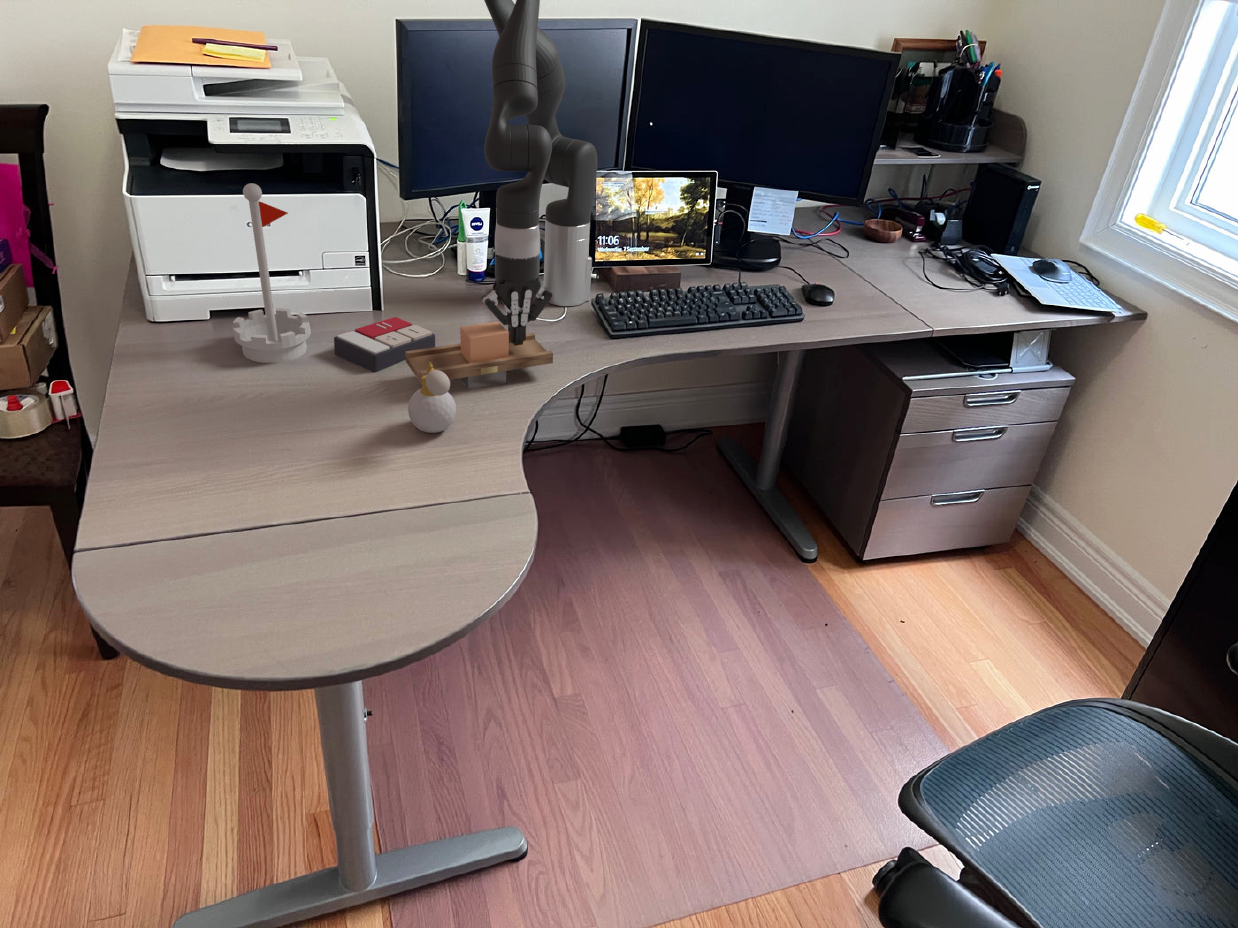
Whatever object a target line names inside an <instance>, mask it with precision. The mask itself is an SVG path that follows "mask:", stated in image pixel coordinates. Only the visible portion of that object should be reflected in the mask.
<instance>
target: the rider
mask: <svg viewBox="0 0 1238 928" xmlns="http://www.w3.org/2000/svg"><path fill="white" fill-rule="evenodd" d="M459 330H460V331H459V332H460V333H459V334H460V344H461V354H462V355H463V356H464V357H465V359H466V360H467V361H468V362H469V363H474V362H481V361H487V360H494V359H500V358H507V357H509V332H508V329H506V328H505V327H504V325H503V324H502V323H501V322H500V321H492V322H487V323H486V322H485V323H479V324H470V325H464V326H460V329H459Z"/></svg>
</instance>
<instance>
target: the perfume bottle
mask: <svg viewBox="0 0 1238 928" xmlns="http://www.w3.org/2000/svg"><path fill="white" fill-rule="evenodd" d="M432 367H433V365H432V364H431V362H429V364H428V368H427V375H425V376H423V377H422V384H421V388H419V389H418V390H416V391H415V392H414V393H413V394H412V395H411V398H410V399H409V401H408V405H407V406H408V407H407V412H408V417H409V420H410V421H411V423H412V424H413V425H414V427H416V428H417V429H418V430H419V431H422V432H424V433H427V434H434V433H440V432H443V431H445V430H447V429H448V428H450V426H451V425H452V424H453V422H454V420H455V418H456V413H457V406H456V402H455V400H454V397H453V396H452V394H451V393H450V392H449V391H450V388H451V380H449V378H448V377H447V375H446V374H445V373H443V372H441V371H439V370H434V368H432Z"/></svg>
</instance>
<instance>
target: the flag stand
mask: <svg viewBox="0 0 1238 928" xmlns="http://www.w3.org/2000/svg"><path fill="white" fill-rule="evenodd" d="M242 194H243V197H244V198H245V199H246V200H247V201H248V202H249V203H248V204H249V205H248V206H249V212H250V218H251V226H252V232H253V238H254V239H253V240H254V245H255V252H256V261H257V265H258V267H257V268H258V272H259V280H260V284H261V293H262V299H263V306H264V311H263V309H257V310H256V309H255V310H253V311H249V312H248V318H247V319H245V318H244V317H241V316H238V317H236V318H235V319H234V320H233V321H232V332H233V339H234V341H235V342H236V344H238V345H240V346H241V349H242V350H241V351H242V354H243V356H244V357H245V358H247V359H248V360H250V361H253V362H257V363H264V364H270V363H271V364H275V363H284V362H288V361H292V360H295V359H297V358H300V357H301V356H303V355H304V354H305V353H306V352H307V340H308V339H309V338H310V337H311V332H312V330H311V324H310V322H309V316H307V314H305V313H303V312H297V313H296V315H292V313H291V312H292V311H291V309H290V308H279V307H277V308H274V300H273V294H272V287H271V281H270V279H271V278H270V273H269V267H268V265H269V264H268V260H267V259H268V258H267V257H268V256H267V252H266V245H265V237H264V236H265V235H264V230H263V228H264V227H266V226H267V225H270V224H271V223H273V222H275V221H277V220H279V219H280V218H282V217H284V216H285V215H288V214H289V212H288V211H285V210H282V209H280V208H277V207H274V206H272V205H270V204H268V203H264V202H262V201H260V200H261V198H262V197H263V196H262V195H263V192H262V188H261V187H260V186H259V185H258V184H257V183H250V182H249V183H247V184H246V185H244V187H243V189H242ZM264 312H265V314H264Z"/></svg>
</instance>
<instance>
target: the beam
mask: <svg viewBox="0 0 1238 928" xmlns="http://www.w3.org/2000/svg"><path fill="white" fill-rule="evenodd" d="M405 355H406V360H405V363H406V364H407V366H408V367H409V368H410V370H411V371H412V373H413V374H414V375H415V377H416V378H417V380H418V381H419V382H420V384H421V385H422V377H423V376H425V375H427V368H428V364H429V362H431V364H432V365H433V367H432V368H434V370H439V371H441V372H443V373H445V374H446V375H447V377H448V378H449V380H450V381H452V380H458V379H459V380H460V381H461V382H462V383H463V385H464V386H465V387H466V388H467V390H473V389H480V388H484V387H485V388H486V387H490V386H497V385H502V384H503V385H504V384H507V371H513V370H518V369H519V370H520V369H526V368H530V367H531V368H532V367H537V366H543V365H545V366H546V365H550V364H553V361H554V352H553V351H552V350H546V349H545V347H543V346H542V344H541V343H540V342H539V341H538V340H536V334H534V332H531V333H526V339H525V341H523V345H516V346H514V344H513V343H512V342H511V341H510V340H509V357H507V358H500V359H494V360H487V361H481V362H474V363H469V362H468V361H467V360H466V359H465V357H464V356H463V355H462V354H461V343H455V344H449V345H448V344H447V345H441V346H435V347H433V348H426V349H419V350H412V351H405Z"/></svg>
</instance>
